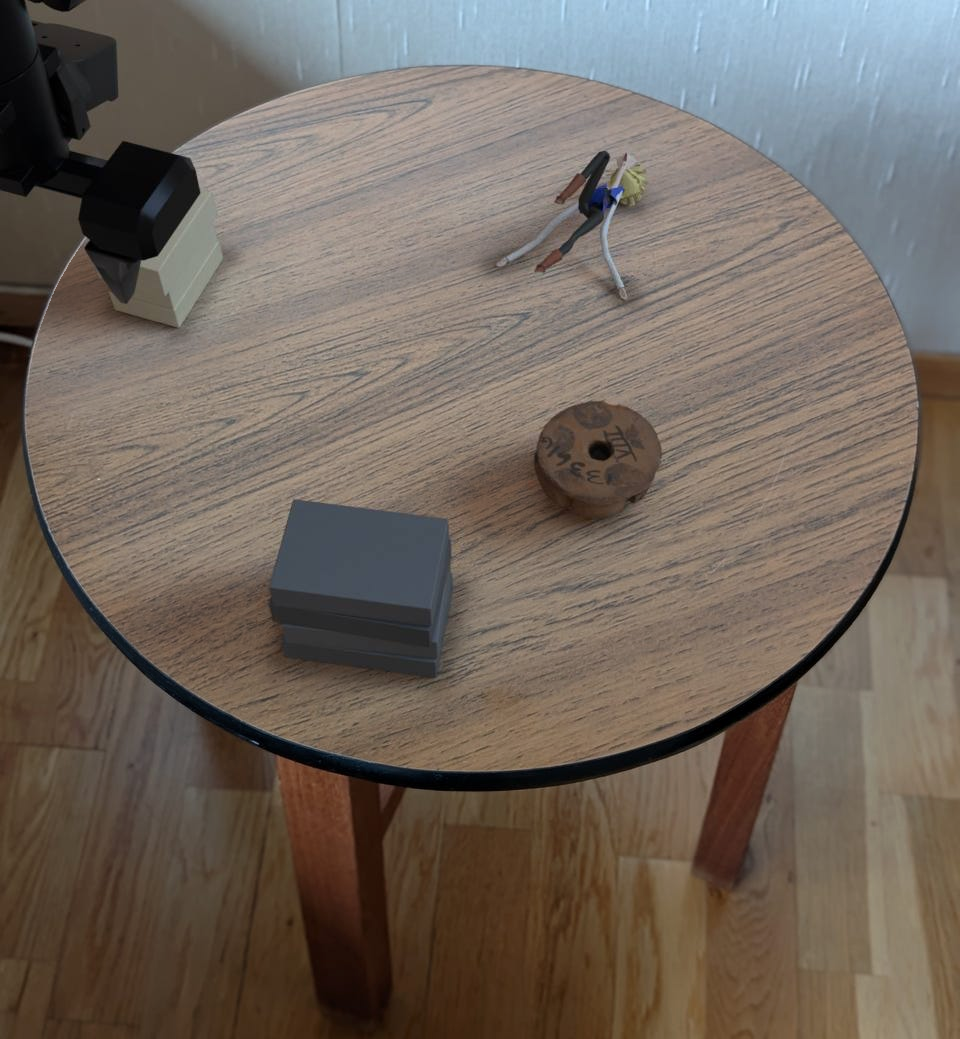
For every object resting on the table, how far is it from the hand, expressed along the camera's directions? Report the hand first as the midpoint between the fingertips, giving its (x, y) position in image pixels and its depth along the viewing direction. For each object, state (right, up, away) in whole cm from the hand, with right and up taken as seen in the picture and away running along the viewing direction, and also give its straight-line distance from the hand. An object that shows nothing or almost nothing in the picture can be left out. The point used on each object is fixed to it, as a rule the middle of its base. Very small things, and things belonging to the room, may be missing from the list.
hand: (57, 278), depth 79 cm
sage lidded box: (+3, +2, +15) cm, 16 cm away
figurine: (+33, +5, +17) cm, 38 cm away
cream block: (+3, +4, +12) cm, 13 cm away
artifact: (+32, -13, +6) cm, 35 cm away
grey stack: (+18, -20, 0) cm, 27 cm away
